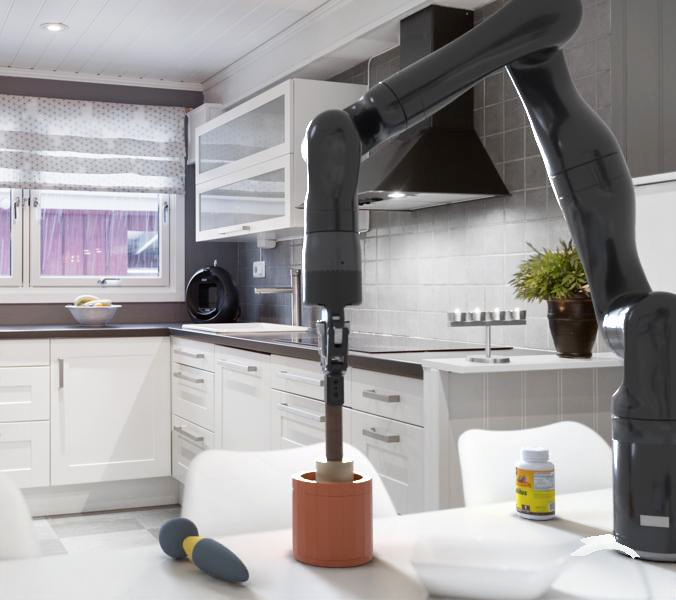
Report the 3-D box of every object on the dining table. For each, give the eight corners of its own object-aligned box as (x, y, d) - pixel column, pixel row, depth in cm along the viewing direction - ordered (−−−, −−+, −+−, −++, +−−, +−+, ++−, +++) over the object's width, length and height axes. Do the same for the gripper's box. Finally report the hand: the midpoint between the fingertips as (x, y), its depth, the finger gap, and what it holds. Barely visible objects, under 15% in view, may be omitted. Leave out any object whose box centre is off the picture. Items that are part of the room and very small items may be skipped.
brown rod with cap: (351, 487, 108) (349, 364, 108) (356, 494, 103) (354, 366, 103) (314, 487, 108) (312, 364, 108) (317, 495, 103) (315, 366, 104)
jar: (366, 545, 109) (365, 469, 110) (378, 567, 99) (377, 483, 100) (290, 545, 110) (290, 469, 110) (295, 567, 100) (294, 483, 100)
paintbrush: (272, 582, 94) (272, 538, 94) (238, 591, 91) (238, 545, 91) (174, 546, 109) (174, 508, 109) (142, 553, 106) (142, 514, 106)
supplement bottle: (511, 512, 128) (510, 446, 129) (548, 512, 128) (546, 446, 129) (522, 520, 123) (521, 451, 123) (560, 521, 123) (559, 451, 123)
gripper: (369, 265, 99) (371, 409, 99) (354, 272, 113) (356, 399, 113) (306, 265, 99) (308, 410, 99) (299, 273, 113) (301, 399, 113)
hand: (334, 403), depth 106 cm, fingers closed on brown rod with cap
